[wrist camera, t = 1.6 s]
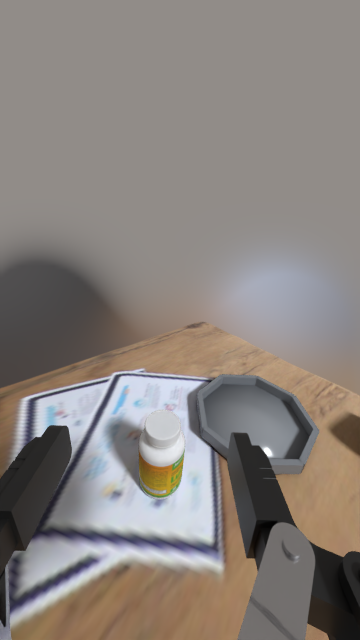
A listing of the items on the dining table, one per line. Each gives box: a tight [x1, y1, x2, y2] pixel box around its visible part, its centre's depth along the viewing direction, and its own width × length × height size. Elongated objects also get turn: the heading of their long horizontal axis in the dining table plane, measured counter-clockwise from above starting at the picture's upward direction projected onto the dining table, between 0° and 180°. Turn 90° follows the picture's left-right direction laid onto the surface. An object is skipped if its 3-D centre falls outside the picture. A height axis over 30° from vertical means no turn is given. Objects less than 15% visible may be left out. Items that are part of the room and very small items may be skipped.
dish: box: [197, 374, 319, 475], centre depth 37 cm, size 18×18×2 cm
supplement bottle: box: [139, 410, 185, 500], centre depth 27 cm, size 5×5×10 cm
